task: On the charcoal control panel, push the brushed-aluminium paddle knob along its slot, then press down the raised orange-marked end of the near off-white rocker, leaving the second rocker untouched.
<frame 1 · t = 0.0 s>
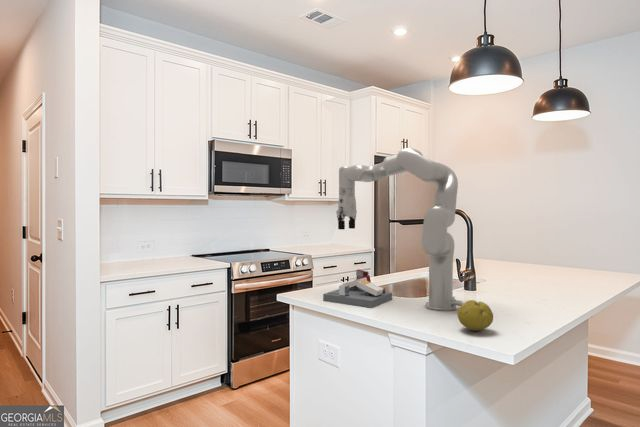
hand: (346, 228, 199), 31 cm above the worktop, fingers open, 9 cm apart
panel: (358, 299, 188), on the worktop
slider: (344, 289, 184), point 5 cm above the worktop, slide at 0.0 cm
rocker a: (370, 287, 185), point 6 cm above the worktop, hinge at -18.0°
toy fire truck: (363, 292, 207), on the worktop
rocker b: (354, 282, 196), point 6 cm above the worktop, hinge at 18.0°
fruit: (474, 331, 142), on the worktop
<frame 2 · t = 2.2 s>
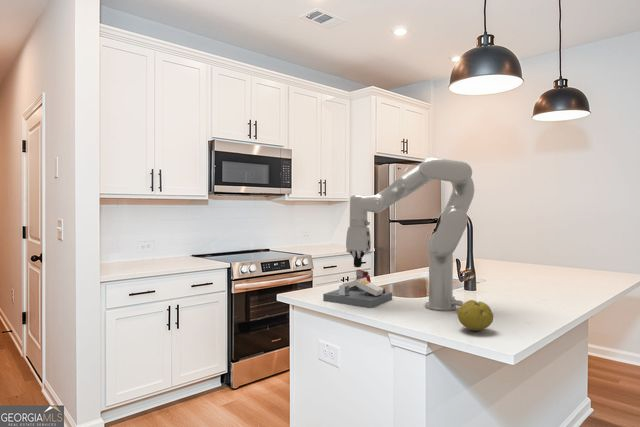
hand: (357, 266, 180), 16 cm above the worktop, fingers closed
nothing on the worktop moved.
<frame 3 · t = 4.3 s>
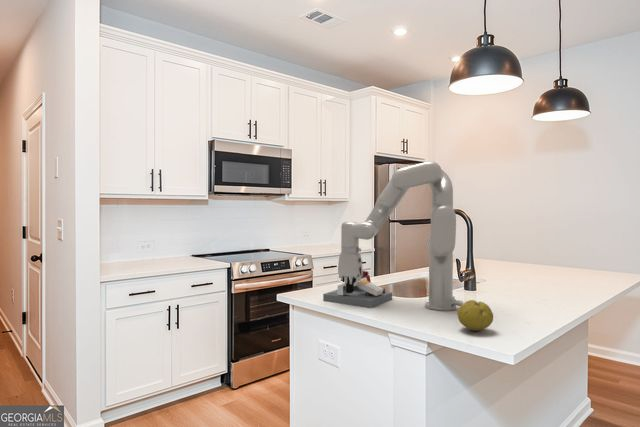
hand: (349, 292, 182), 4 cm above the worktop, fingers closed
slider: (342, 289, 184), point 5 cm above the worktop, slide at 0.8 cm, touching gripper
everything else where it was.
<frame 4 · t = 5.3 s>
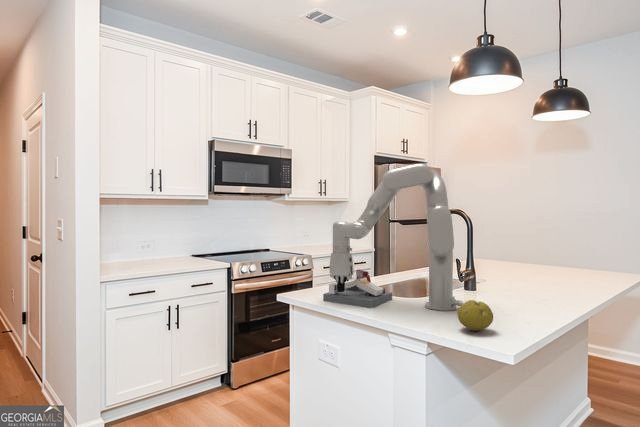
hand: (340, 291, 185), 4 cm above the worktop, fingers closed
slider: (334, 288, 187), point 5 cm above the worktop, slide at 5.3 cm, touching gripper
everything else where it was.
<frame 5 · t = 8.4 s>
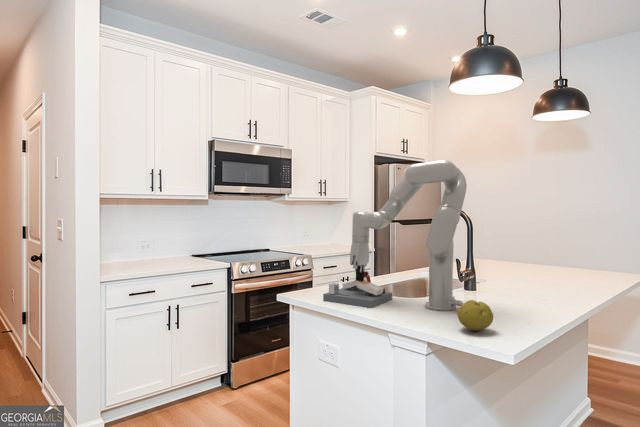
hand: (359, 280, 187), 9 cm above the worktop, fingers closed
slider: (333, 288, 187), point 5 cm above the worktop, slide at 5.3 cm
rocker a: (370, 287, 185), point 6 cm above the worktop, hinge at -14.6°, touching gripper
everything else where it was.
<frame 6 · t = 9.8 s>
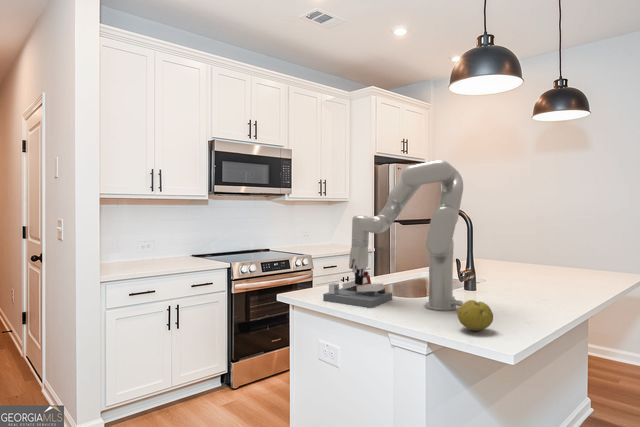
hand: (358, 284, 188), 7 cm above the worktop, fingers closed
rocker a: (370, 287, 185), point 6 cm above the worktop, hinge at 7.6°, touching gripper
everything else where it was.
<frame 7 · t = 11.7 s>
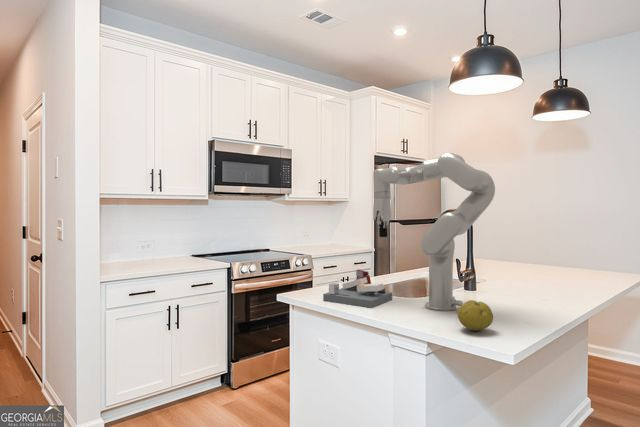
hand: (383, 236, 190), 28 cm above the worktop, fingers closed
rocker a: (370, 287, 185), point 6 cm above the worktop, hinge at 7.8°
everything else where it was.
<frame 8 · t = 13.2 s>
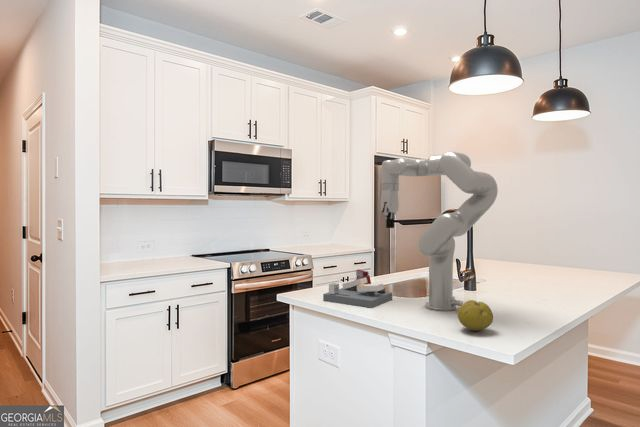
hand: (390, 227, 192), 32 cm above the worktop, fingers closed
nothing on the worktop moved.
at the end: rocker a at +8° (first picture: -18°); slider slide at 5.3 cm; rocker b at +18° (first picture: +18°) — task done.
